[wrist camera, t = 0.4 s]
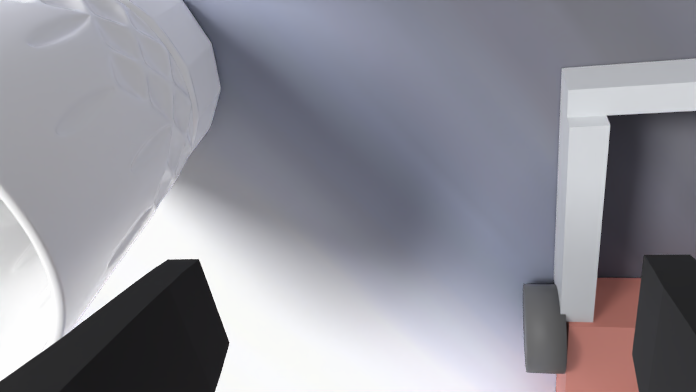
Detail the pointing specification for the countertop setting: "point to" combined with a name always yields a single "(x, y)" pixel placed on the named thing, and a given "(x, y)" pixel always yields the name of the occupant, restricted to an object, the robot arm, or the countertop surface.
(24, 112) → the white cup
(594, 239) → the toy car
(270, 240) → the countertop surface
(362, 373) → the countertop surface
